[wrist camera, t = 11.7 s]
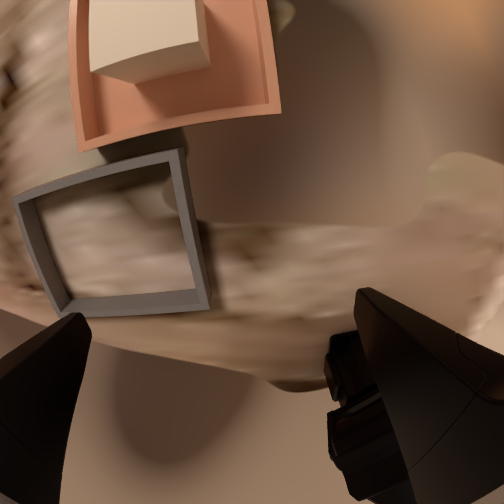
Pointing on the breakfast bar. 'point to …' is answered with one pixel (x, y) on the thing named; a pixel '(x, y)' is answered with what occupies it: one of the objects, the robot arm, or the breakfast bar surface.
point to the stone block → (147, 38)
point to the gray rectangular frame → (126, 303)
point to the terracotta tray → (178, 80)
